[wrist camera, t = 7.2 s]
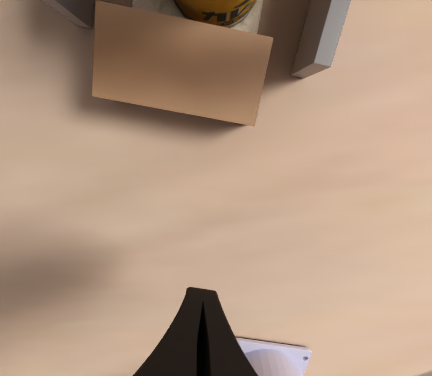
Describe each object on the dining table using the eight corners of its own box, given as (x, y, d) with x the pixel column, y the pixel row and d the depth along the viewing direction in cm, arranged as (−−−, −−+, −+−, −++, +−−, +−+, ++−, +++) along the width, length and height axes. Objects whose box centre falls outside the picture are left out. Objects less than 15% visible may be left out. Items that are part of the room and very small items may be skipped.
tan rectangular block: (246, 125, 19) (254, 126, 15) (114, 100, 18) (91, 96, 14) (261, 53, 17) (273, 37, 14) (118, 24, 17) (95, -1, 13)
